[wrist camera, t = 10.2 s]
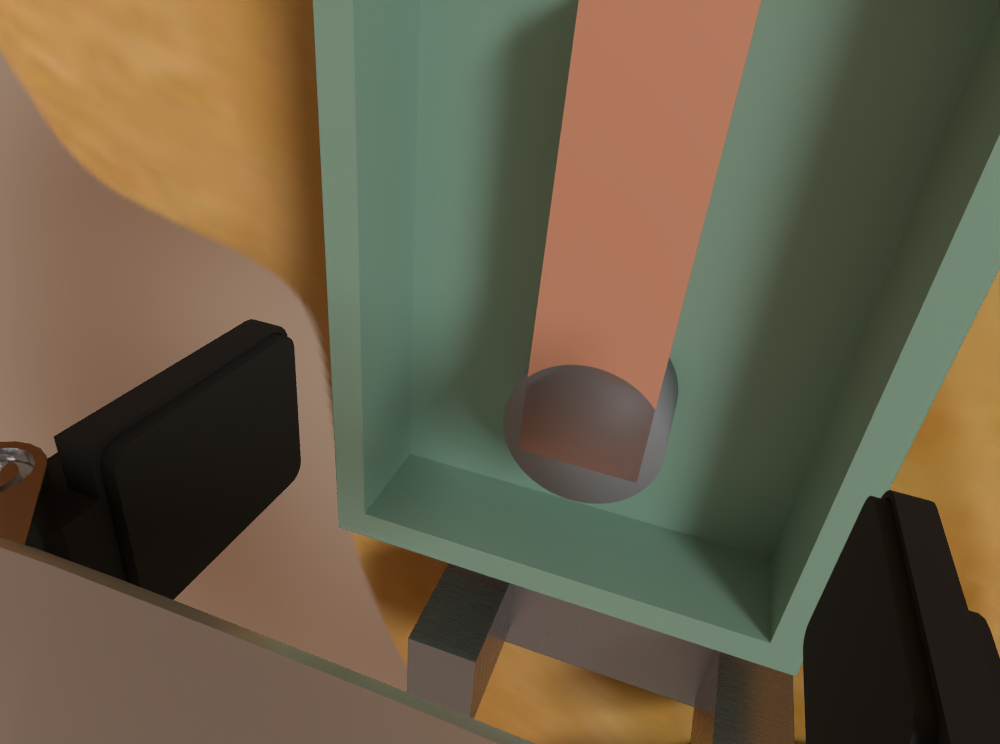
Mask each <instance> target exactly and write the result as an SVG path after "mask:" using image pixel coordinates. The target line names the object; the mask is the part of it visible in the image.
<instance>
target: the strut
mask: <svg viewBox="0 0 1000 744" xmlns="http://www.w3.org/2000/svg"><path fill="white" fill-rule="evenodd" d="M761 1H762V0H579V2H578V9H577V17H576V24H575V32H574V39H573V46H572V54H571V61H570V68H569V76H568V83H567V90H566V98H565V105H564V113H563V120H562V127H561V135H560V142H559V149H558V157H557V164H556V172H555V179H554V186H553V194H552V201H551V208H550V216H549V223H548V230H547V238H546V245H545V253H544V260H543V267H542V275H541V282H540V289H539V297H538V304H537V311H536V319H535V326H534V334H533V341H532V348H531V356H530V363H529V366H528V367H527V369H526V371H525V372H524V374H523V376H522V377H521V379H520V380H519V382H518V384H517V385H516V387H515V389H514V390H513V392H512V394H511V395H510V397H509V399H508V401H507V404H506V406H505V410H504V415H503V430H504V436H505V440H506V443H507V446H508V448H509V451H510V453H511V454H512V456H513V458H514V460H515V461H516V463H517V464H518V465H519V467H520V468H521V469H522V470H523V471H524V472H525V473H526V474H527V475H528V476H529V477H530V478H531V479H532V480H533V481H534V482H536V483H537V484H539V485H540V486H541V487H543V488H545V489H546V490H548V491H550V492H552V493H554V494H556V495H558V496H560V497H563V498H566V499H569V500H573V501H577V502H582V503H589V504H604V503H613V502H618V501H621V500H624V499H628V498H630V497H632V496H634V495H636V494H638V493H639V492H641V491H642V490H644V489H645V488H646V487H647V486H648V485H649V484H651V482H652V481H653V480H654V479H655V478H656V476H657V474H658V473H659V471H660V469H661V467H662V464H663V461H664V457H665V453H666V448H667V444H668V439H669V435H670V430H671V426H672V421H673V417H674V412H675V408H676V403H677V398H678V379H677V375H676V371H675V368H674V366H673V364H672V361H671V360H670V358H669V357H670V353H671V349H672V345H673V341H674V338H675V334H676V330H677V326H678V322H679V318H680V314H681V310H682V307H683V303H684V299H685V295H686V291H687V287H688V283H689V280H690V276H691V272H692V268H693V264H694V260H695V256H696V253H697V249H698V245H699V241H700V237H701V233H702V229H703V226H704V222H705V218H706V214H707V210H708V206H709V202H710V198H711V195H712V191H713V187H714V183H715V179H716V175H717V171H718V168H719V164H720V160H721V156H722V152H723V148H724V144H725V141H726V137H727V133H728V129H729V125H730V121H731V117H732V113H733V110H734V106H735V102H736V98H737V94H738V90H739V86H740V83H741V79H742V75H743V71H744V67H745V63H746V59H747V56H748V52H749V48H750V44H751V40H752V36H753V32H754V29H755V25H756V21H757V17H758V13H759V9H760V5H761Z"/></svg>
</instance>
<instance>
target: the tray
mask: <svg viewBox="0 0 1000 744" xmlns="http://www.w3.org/2000/svg"><path fill="white" fill-rule="evenodd" d="M578 2H579V0H313V16H314V36H315V56H316V76H317V97H318V117H319V137H320V157H321V177H322V197H323V218H324V238H325V258H326V278H327V298H328V318H329V338H330V359H331V379H332V399H333V419H334V439H335V459H336V480H337V499H338V520H339V528H343V529H346V530H349V531H352V532H355V533H358V534H361V535H364V536H367V537H370V538H373V539H376V540H379V541H382V542H385V543H388V544H392V545H395V546H398V547H401V548H404V549H407V550H410V551H413V552H416V553H419V554H422V555H425V556H428V557H431V558H434V559H438V560H441V561H444V562H447V563H450V564H453V565H456V566H459V567H462V568H465V569H468V570H471V571H474V572H477V573H480V574H483V575H487V576H490V577H493V578H496V579H499V580H502V581H505V582H508V583H511V584H514V585H517V586H520V587H523V588H526V589H529V590H533V591H536V592H539V593H542V594H545V595H548V596H551V597H554V598H557V599H560V600H563V601H566V602H569V603H572V604H575V605H578V606H582V607H585V608H588V609H591V610H594V611H597V612H600V613H603V614H606V615H609V616H612V617H615V618H618V619H621V620H624V621H628V622H631V623H634V624H637V625H640V626H643V627H646V628H649V629H652V630H655V631H658V632H661V633H664V634H667V635H670V636H673V637H677V638H680V639H683V640H686V641H689V642H692V643H695V644H698V645H701V646H704V647H707V648H710V649H713V650H716V651H719V652H723V653H726V654H729V655H732V656H735V657H738V658H741V659H744V660H747V661H750V662H753V663H756V664H759V665H762V666H765V667H769V668H772V669H775V670H778V671H781V672H784V673H787V674H790V675H793V676H796V675H797V673H798V671H799V669H800V667H801V665H802V663H803V642H804V636H805V632H806V628H807V625H808V623H809V621H810V618H811V616H812V614H813V612H814V610H815V608H816V606H817V603H818V601H819V599H820V597H821V595H822V593H823V590H824V588H825V586H826V584H827V582H828V580H829V578H830V575H831V573H832V571H833V569H834V567H835V565H836V563H837V560H838V558H839V556H840V554H841V552H842V550H843V547H844V545H845V543H846V541H847V539H848V537H849V535H850V532H851V530H852V528H853V526H854V524H855V522H856V519H857V517H858V515H859V513H860V511H861V509H862V507H863V504H864V503H865V501H866V499H867V498H868V497H869V496H874V497H878V498H881V497H882V496H883V494H884V493H885V492H886V491H888V490H889V489H890V487H891V485H892V483H893V481H894V479H895V477H896V475H897V473H898V471H899V469H900V467H901V465H902V463H903V461H904V459H905V457H906V455H907V453H908V451H909V449H910V447H911V445H912V443H913V441H914V439H915V437H916V435H917V433H918V431H919V429H920V427H921V425H922V423H923V421H924V419H925V417H926V415H927V413H928V411H929V409H930V407H931V405H932V403H933V401H934V399H935V397H936V395H937V393H938V391H939V389H940V387H941V385H942V383H943V381H944V379H945V377H946V375H947V373H948V371H949V369H950V367H951V365H952V363H953V361H954V359H955V357H956V355H957V353H958V351H959V349H960V347H961V345H962V343H963V341H964V339H965V337H966V335H967V333H968V331H969V329H970V327H971V325H972V323H973V321H974V319H975V317H976V315H977V313H978V311H979V309H980V307H981V305H982V303H983V301H984V299H985V297H986V295H987V293H988V291H989V289H990V287H991V285H992V283H993V281H994V279H995V277H996V275H997V273H998V271H999V269H1000V0H762V1H761V5H760V9H759V13H758V17H757V21H756V25H755V29H754V32H753V36H752V40H751V44H750V48H749V52H748V56H747V59H746V63H745V67H744V71H743V75H742V79H741V83H740V86H739V90H738V94H737V98H736V102H735V106H734V110H733V113H732V117H731V121H730V125H729V129H728V133H727V137H726V141H725V144H724V148H723V152H722V156H721V160H720V164H719V168H718V171H717V175H716V179H715V183H714V187H713V191H712V195H711V198H710V202H709V206H708V210H707V214H706V218H705V222H704V226H703V229H702V233H701V237H700V241H699V245H698V249H697V253H696V256H695V260H694V264H693V268H692V272H691V276H690V280H689V283H688V287H687V291H686V295H685V299H684V303H683V307H682V310H681V314H680V318H679V322H678V326H677V330H676V334H675V338H674V341H673V345H672V349H671V353H670V357H669V358H670V360H671V361H672V364H673V366H674V368H675V371H676V375H677V379H678V398H677V403H676V408H675V412H674V417H673V421H672V426H671V430H670V435H669V439H668V444H667V448H666V453H665V457H664V461H663V464H662V467H661V469H660V471H659V473H658V474H657V476H656V478H655V479H654V480H653V481H652V482H651V484H649V485H648V486H647V487H646V488H645V489H644V490H642V491H641V492H639V493H638V494H636V495H634V496H632V497H630V498H628V499H624V500H621V501H618V502H613V503H604V504H589V503H582V502H577V501H573V500H569V499H566V498H563V497H560V496H558V495H556V494H554V493H552V492H550V491H548V490H546V489H545V488H543V487H541V486H540V485H539V484H537V483H536V482H534V481H533V480H532V479H531V478H530V477H529V476H528V475H527V474H526V473H525V472H524V471H523V470H522V469H521V468H520V467H519V465H518V464H517V463H516V461H515V460H514V458H513V456H512V454H511V453H510V451H509V448H508V446H507V443H506V440H505V436H504V430H503V415H504V410H505V406H506V404H507V401H508V399H509V397H510V395H511V394H512V392H513V390H514V389H515V387H516V385H517V384H518V382H519V380H520V379H521V377H522V376H523V374H524V372H525V371H526V369H527V367H528V366H529V363H530V356H531V348H532V341H533V334H534V326H535V319H536V311H537V304H538V297H539V289H540V282H541V275H542V267H543V260H544V253H545V245H546V238H547V230H548V223H549V216H550V208H551V201H552V194H553V186H554V179H555V172H556V164H557V157H558V149H559V142H560V135H561V127H562V120H563V113H564V105H565V98H566V90H567V83H568V76H569V68H570V61H571V54H572V46H573V39H574V32H575V24H576V17H577V9H578Z"/></svg>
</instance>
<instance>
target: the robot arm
mask: <svg viewBox="0 0 1000 744" xmlns="http://www.w3.org/2000/svg"><path fill="white" fill-rule="evenodd" d="M54 439H55V443H56V446H57V450H58V453H56V454H54V455H53V456H52V457H50V458H48V459H47V456H46V454H45V453H44V452H43V451H42V449H41V448H39V447H36V446H34V445H32V444H29V443H23V442H16V441H14V442H0V744H534V743H532V742H530V741H527V740H525V739H522V738H520V737H517V736H515V735H512V734H510V733H507V732H505V731H502V730H500V729H497V728H495V727H492V726H490V725H487V724H485V723H482V722H480V721H477V720H475V719H473V718H470V717H468V716H465V715H463V714H460V713H458V712H455V711H453V710H450V709H448V708H445V707H443V706H440V705H438V704H435V703H433V702H430V701H428V700H425V699H423V698H420V697H418V696H415V695H412V694H410V693H407V692H405V691H402V690H400V689H397V688H395V687H392V686H390V685H387V684H385V683H382V682H380V681H377V680H375V679H372V678H370V677H367V676H365V675H362V674H360V673H357V672H354V671H352V670H350V669H347V668H344V667H342V666H339V665H337V664H334V663H332V662H329V661H327V660H324V659H322V658H319V657H317V656H314V655H312V654H309V653H307V652H304V651H302V650H299V649H296V648H294V647H292V646H289V645H286V644H284V643H281V642H279V641H276V640H274V639H271V638H269V637H266V636H264V635H261V634H259V633H256V632H254V631H251V630H249V629H246V628H243V627H240V626H238V625H236V624H233V623H230V622H228V621H225V620H223V619H220V618H218V617H215V616H213V615H210V614H208V613H205V612H202V611H200V610H197V609H195V608H192V607H189V606H187V605H184V604H182V603H179V602H177V601H174V599H175V598H176V597H177V596H178V594H180V593H181V592H182V591H183V590H184V589H185V588H186V587H187V586H188V585H189V584H190V583H191V582H192V581H193V580H194V579H195V578H196V577H197V576H198V575H199V574H200V573H201V572H202V571H203V570H204V569H205V568H206V567H207V566H208V565H209V564H210V563H211V562H212V561H213V560H214V559H215V558H216V557H217V556H218V555H219V554H220V553H221V552H222V551H223V550H224V549H225V548H226V547H227V546H228V545H229V544H230V543H231V542H232V541H233V540H234V539H235V538H236V537H237V536H238V535H239V534H240V533H241V532H242V531H243V530H244V529H245V528H246V527H247V526H248V525H249V524H250V523H251V522H252V521H253V520H254V519H255V518H256V517H258V515H260V513H262V512H263V511H264V509H266V508H267V507H268V506H269V505H270V504H271V503H272V502H273V501H274V499H276V498H277V497H278V496H279V495H280V494H281V493H282V492H283V491H284V490H285V489H286V488H287V487H288V486H289V485H290V484H291V483H292V482H293V481H294V479H295V478H296V476H297V474H298V472H299V469H300V463H301V457H300V440H299V423H298V405H297V388H296V372H295V354H294V344H293V341H292V339H290V338H289V337H287V333H286V331H285V330H284V329H283V328H282V327H280V326H276V325H272V324H269V323H265V322H261V321H257V320H252V319H250V320H247V321H245V322H243V323H242V324H240V325H239V326H237V327H235V328H233V329H232V330H230V331H229V332H227V333H225V334H224V335H222V336H220V337H219V338H217V339H215V340H214V341H212V342H210V343H209V344H207V345H205V346H204V347H202V348H200V349H199V350H197V351H195V352H194V353H192V354H190V355H189V356H187V357H185V358H184V359H182V360H180V361H179V362H177V363H175V364H174V365H172V366H170V367H169V368H167V369H165V370H164V371H162V372H161V373H159V374H157V375H155V376H154V377H152V378H151V379H149V380H147V381H146V382H144V383H142V384H140V385H139V386H137V387H135V388H134V389H132V390H130V391H129V392H127V393H126V394H124V395H122V396H121V397H119V398H117V399H116V400H114V401H113V402H111V403H109V404H107V405H106V406H104V407H102V408H101V409H99V410H97V411H96V412H94V413H92V414H91V415H89V416H87V417H86V418H84V419H82V420H81V421H79V422H77V423H76V424H74V425H73V426H71V427H69V428H67V429H66V430H64V431H62V432H61V433H59V434H58V435H56V436H54ZM803 669H804V698H805V728H806V744H1000V658H999V655H998V652H997V649H996V646H995V643H994V640H993V637H992V634H991V631H990V628H989V626H988V624H987V622H986V620H985V618H983V617H982V616H981V615H980V614H979V613H975V612H972V611H969V610H968V607H967V604H966V601H965V597H964V594H963V591H962V588H961V584H960V581H959V578H958V575H957V571H956V568H955V565H954V562H953V558H952V555H951V552H950V549H949V545H948V542H947V539H946V536H945V532H944V529H943V526H942V523H941V519H940V516H939V513H938V510H937V507H936V505H935V503H934V502H932V501H929V500H925V499H921V498H917V497H914V496H910V495H906V494H903V493H899V492H895V491H891V490H888V491H886V492H885V493H884V494H883V496H882V497H881V498H878V497H874V496H869V497H868V498H867V499H866V501H865V503H864V504H863V507H862V509H861V511H860V513H859V515H858V517H857V519H856V522H855V524H854V526H853V528H852V530H851V532H850V535H849V537H848V539H847V541H846V543H845V545H844V547H843V550H842V552H841V554H840V556H839V558H838V560H837V563H836V565H835V567H834V569H833V571H832V573H831V575H830V578H829V580H828V582H827V584H826V586H825V588H824V590H823V593H822V595H821V597H820V599H819V601H818V603H817V606H816V608H815V610H814V612H813V614H812V616H811V618H810V621H809V623H808V625H807V628H806V632H805V636H804V642H803Z"/></svg>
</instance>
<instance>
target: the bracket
mask: <svg viewBox="0 0 1000 744" xmlns="http://www.w3.org/2000/svg"><path fill="white" fill-rule="evenodd" d="M505 641H506V642H509V643H512V644H514V645H517V646H520V647H523V648H526V649H529V650H532V651H535V652H537V653H540V654H543V655H546V656H549V657H552V658H555V659H558V660H561V661H563V662H566V663H569V664H572V665H575V666H578V667H581V668H584V669H586V670H589V671H592V672H595V673H598V674H601V675H604V676H607V677H609V678H612V679H615V680H618V681H621V682H624V683H627V684H630V685H633V686H635V687H638V688H641V689H644V690H647V691H650V692H653V693H656V694H658V695H661V696H664V697H667V698H670V699H673V700H676V701H679V702H681V703H684V704H687V705H690V706H693V707H694V713H693V723H692V732H691V741H690V744H795V740H794V703H793V675H790V674H787V673H784V672H781V671H778V670H775V669H772V668H769V667H765V666H762V665H759V664H756V663H753V662H750V661H747V660H744V659H741V658H738V657H735V656H732V655H729V654H726V653H723V652H719V651H716V650H713V649H710V648H707V647H704V646H701V645H698V644H695V643H692V642H689V641H686V640H683V639H680V638H677V637H673V636H670V635H667V634H664V633H661V632H658V631H655V630H652V629H649V628H646V627H643V626H640V625H637V624H634V623H631V622H628V621H624V620H621V619H618V618H615V617H612V616H609V615H606V614H603V613H600V612H597V611H594V610H591V609H588V608H585V607H582V606H578V605H575V604H572V603H569V602H566V601H563V600H560V599H557V598H554V597H551V596H548V595H545V594H542V593H539V592H536V591H533V590H529V589H526V588H523V587H520V586H517V585H514V584H511V583H508V582H505V581H502V580H499V579H496V578H493V577H490V576H487V575H483V574H480V573H477V572H474V571H471V570H468V569H465V568H462V567H459V566H456V565H453V564H450V563H449V564H448V566H447V568H446V570H445V572H444V574H443V575H442V577H441V579H440V581H439V583H438V585H437V586H436V588H435V590H434V592H433V594H432V596H431V597H430V599H429V601H428V603H427V605H426V607H425V608H424V610H423V612H422V614H421V616H420V618H419V620H418V621H417V623H416V625H415V627H414V629H413V631H412V632H411V634H410V636H409V638H408V668H407V693H410V694H412V695H415V696H418V697H420V698H423V699H425V700H428V701H430V702H433V703H435V704H438V705H440V706H443V707H445V708H448V709H450V710H453V711H455V712H458V713H460V714H463V715H465V716H468V717H470V718H473V719H474V717H475V714H476V712H477V709H478V707H479V704H480V702H481V699H482V697H483V694H484V692H485V689H486V687H487V684H488V682H489V679H490V677H491V674H492V672H493V669H494V667H495V664H496V662H497V659H498V657H499V654H500V652H501V649H502V647H503V644H504V642H505Z"/></svg>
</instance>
